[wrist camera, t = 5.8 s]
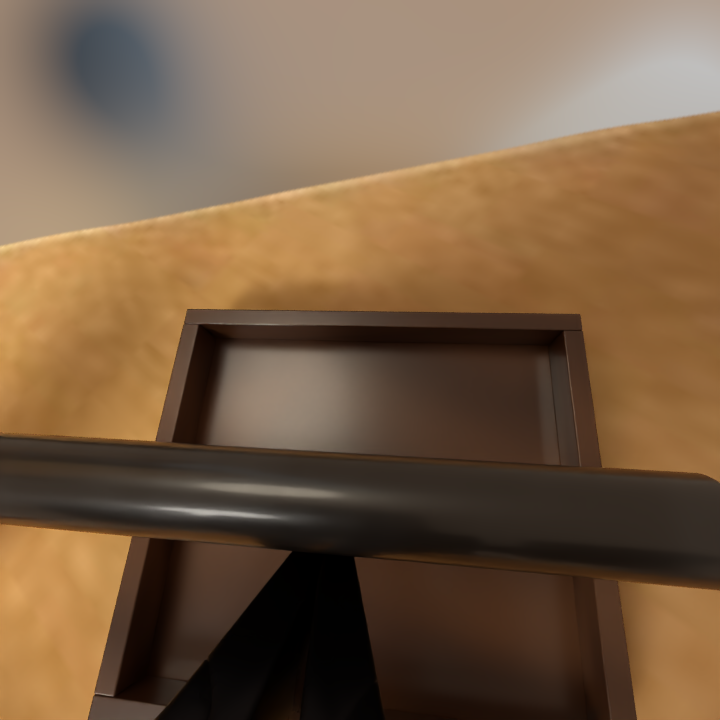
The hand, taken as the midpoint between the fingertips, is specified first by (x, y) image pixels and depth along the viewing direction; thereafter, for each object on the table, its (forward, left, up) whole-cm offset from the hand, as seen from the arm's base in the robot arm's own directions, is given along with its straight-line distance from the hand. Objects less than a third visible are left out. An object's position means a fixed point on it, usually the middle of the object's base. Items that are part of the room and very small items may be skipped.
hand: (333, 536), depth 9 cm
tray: (0, +1, -8) cm, 8 cm away
